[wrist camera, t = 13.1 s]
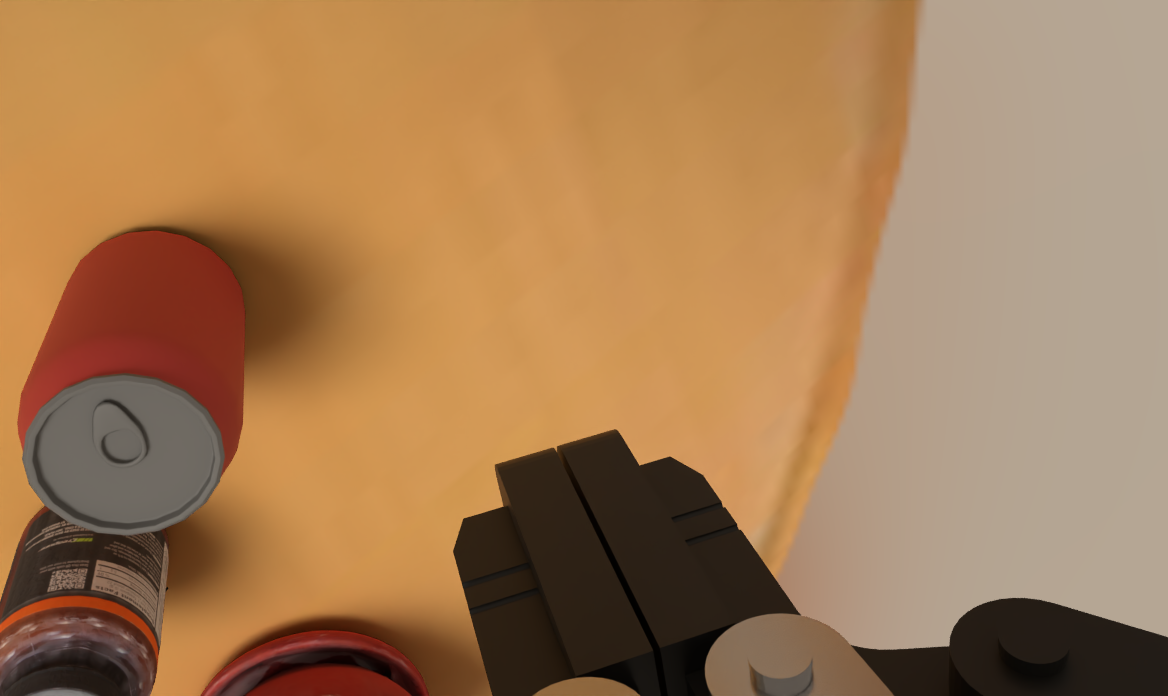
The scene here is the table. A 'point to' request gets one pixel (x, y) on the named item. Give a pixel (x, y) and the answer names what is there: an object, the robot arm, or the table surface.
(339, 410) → the table surface
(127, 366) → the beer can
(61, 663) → the supplement bottle
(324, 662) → the plant pot
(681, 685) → the robot arm
